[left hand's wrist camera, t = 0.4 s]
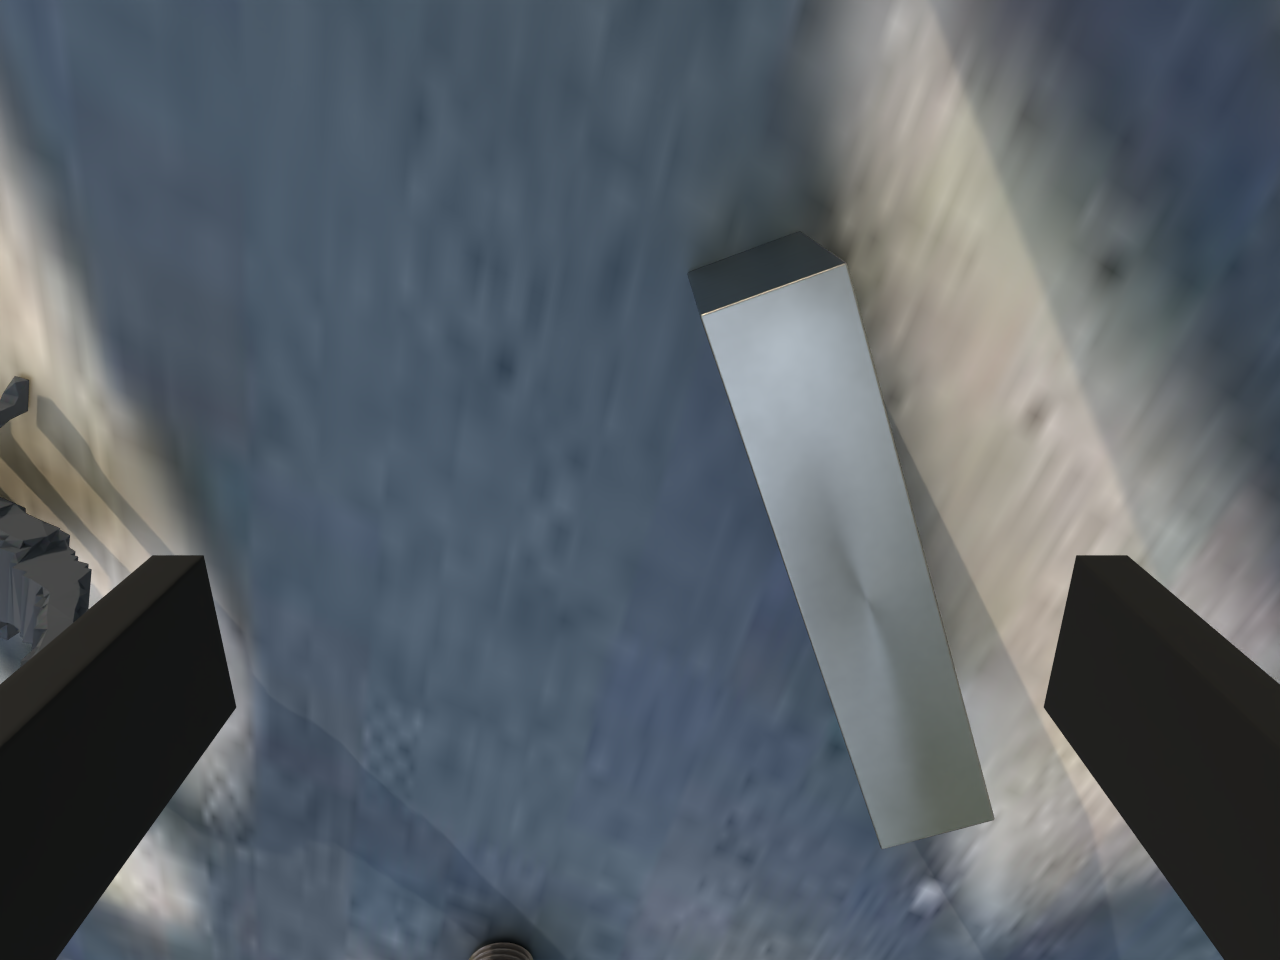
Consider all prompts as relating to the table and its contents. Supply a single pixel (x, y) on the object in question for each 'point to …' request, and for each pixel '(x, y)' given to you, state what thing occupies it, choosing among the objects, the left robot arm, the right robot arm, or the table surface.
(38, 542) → the toy
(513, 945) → the light bulb
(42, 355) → the table surface
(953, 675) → the bar
